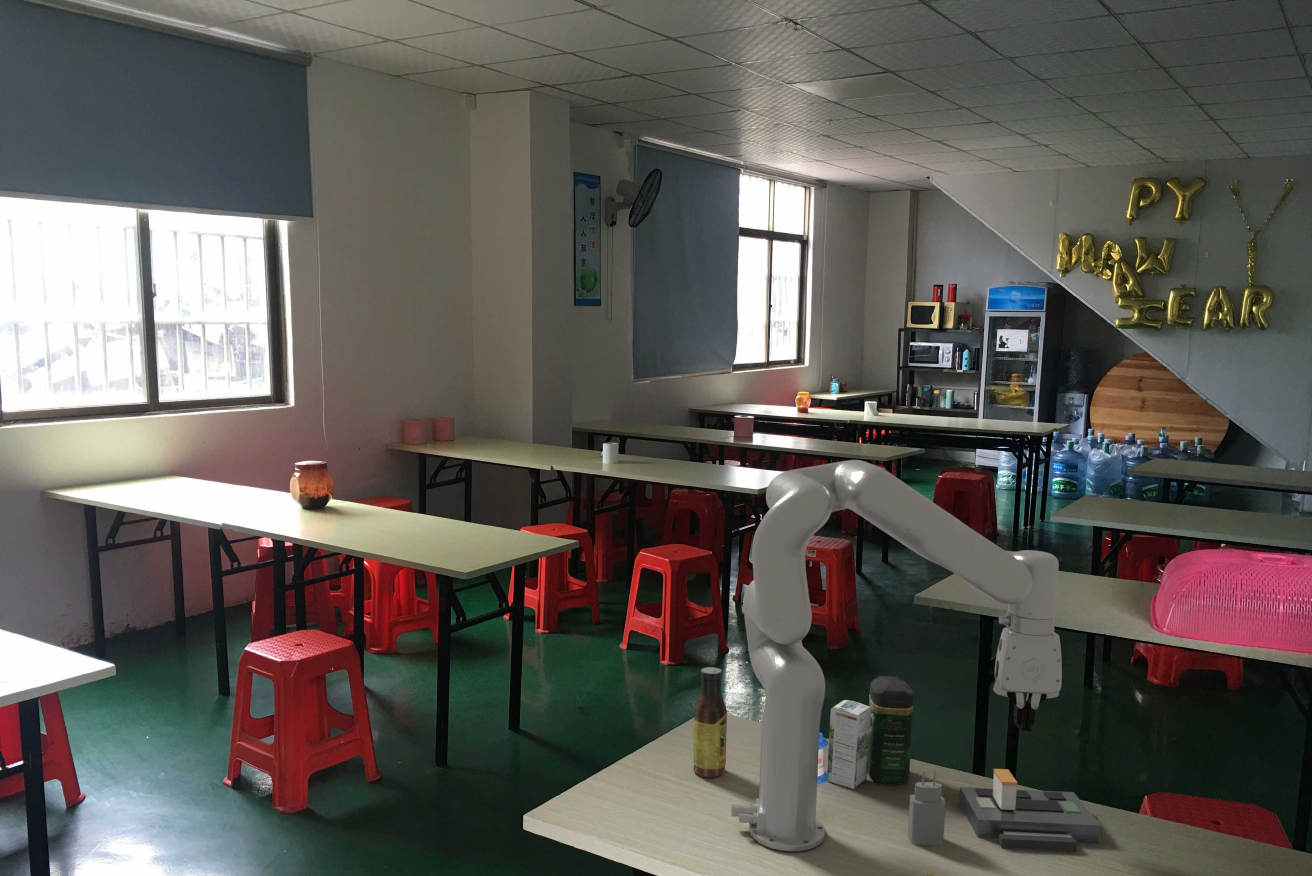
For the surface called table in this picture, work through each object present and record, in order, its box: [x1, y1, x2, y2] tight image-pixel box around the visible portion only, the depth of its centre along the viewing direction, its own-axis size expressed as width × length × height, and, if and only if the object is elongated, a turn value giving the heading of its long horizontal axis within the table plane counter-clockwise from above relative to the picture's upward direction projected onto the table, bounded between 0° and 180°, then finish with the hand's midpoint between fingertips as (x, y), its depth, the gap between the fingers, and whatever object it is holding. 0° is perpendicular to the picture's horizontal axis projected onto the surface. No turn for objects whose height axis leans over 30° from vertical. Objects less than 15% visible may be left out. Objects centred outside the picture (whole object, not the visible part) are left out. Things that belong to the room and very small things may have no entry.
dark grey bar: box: [998, 831, 1078, 853], centre depth 161 cm, size 12×3×2 cm, turn 87°
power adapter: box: [907, 770, 947, 846], centre depth 162 cm, size 3×5×12 cm, turn 91°
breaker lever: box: [992, 768, 1018, 810], centre depth 169 cm, size 2×5×5 cm, turn 177°
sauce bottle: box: [692, 666, 728, 779], centre depth 185 cm, size 7×6×20 cm
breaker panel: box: [958, 786, 1101, 843], centre depth 169 cm, size 20×12×3 cm, turn 87°
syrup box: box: [826, 699, 871, 790], centre depth 183 cm, size 6×6×14 cm
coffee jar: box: [867, 675, 914, 786], centre depth 185 cm, size 10×8×19 cm
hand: (1023, 727), depth 167 cm, fingers closed
